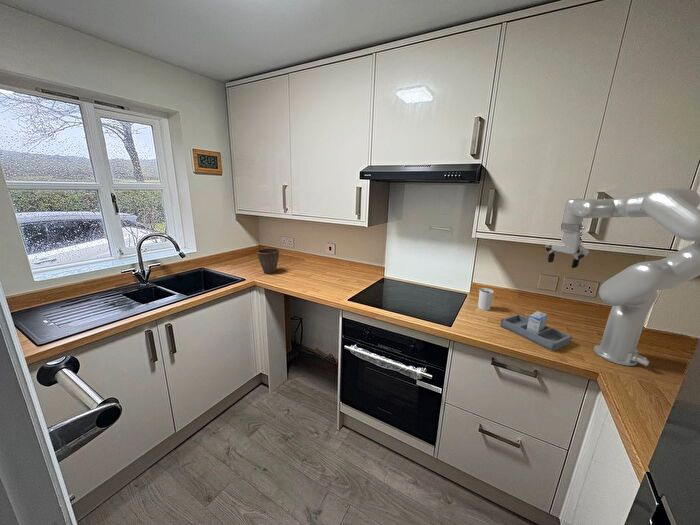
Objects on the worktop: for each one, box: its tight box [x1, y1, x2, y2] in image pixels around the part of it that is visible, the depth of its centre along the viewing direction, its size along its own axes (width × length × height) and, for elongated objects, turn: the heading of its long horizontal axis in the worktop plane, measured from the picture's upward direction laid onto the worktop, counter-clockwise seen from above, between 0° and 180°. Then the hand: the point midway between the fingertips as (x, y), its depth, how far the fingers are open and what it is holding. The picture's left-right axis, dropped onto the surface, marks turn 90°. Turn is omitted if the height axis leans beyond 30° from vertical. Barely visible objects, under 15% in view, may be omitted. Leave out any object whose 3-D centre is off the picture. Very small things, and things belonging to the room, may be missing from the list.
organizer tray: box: [499, 313, 573, 352], centre depth 124 cm, size 23×13×4 cm, turn 28°
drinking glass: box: [477, 287, 494, 311], centre depth 148 cm, size 7×7×10 cm
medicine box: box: [527, 310, 548, 334], centre depth 123 cm, size 8×4×9 cm, turn 128°
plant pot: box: [256, 247, 280, 275], centre depth 201 cm, size 15×15×16 cm
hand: (561, 264), depth 129 cm, fingers open, 9 cm apart
